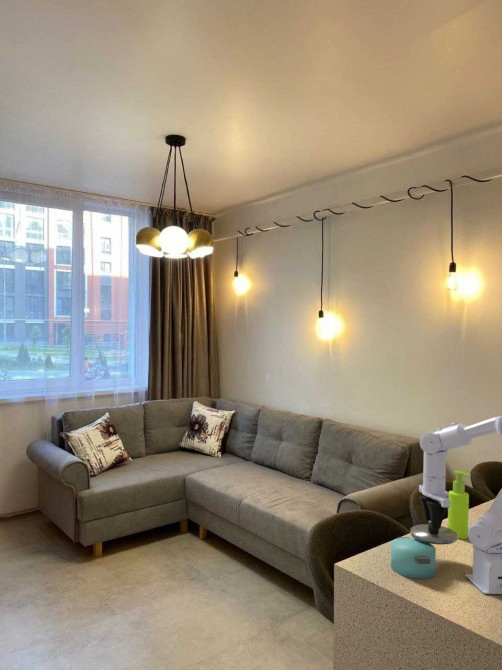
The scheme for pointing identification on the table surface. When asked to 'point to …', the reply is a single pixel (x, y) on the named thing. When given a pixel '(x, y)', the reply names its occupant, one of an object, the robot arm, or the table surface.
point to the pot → (413, 558)
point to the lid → (433, 534)
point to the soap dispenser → (459, 506)
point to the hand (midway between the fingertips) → (433, 525)
